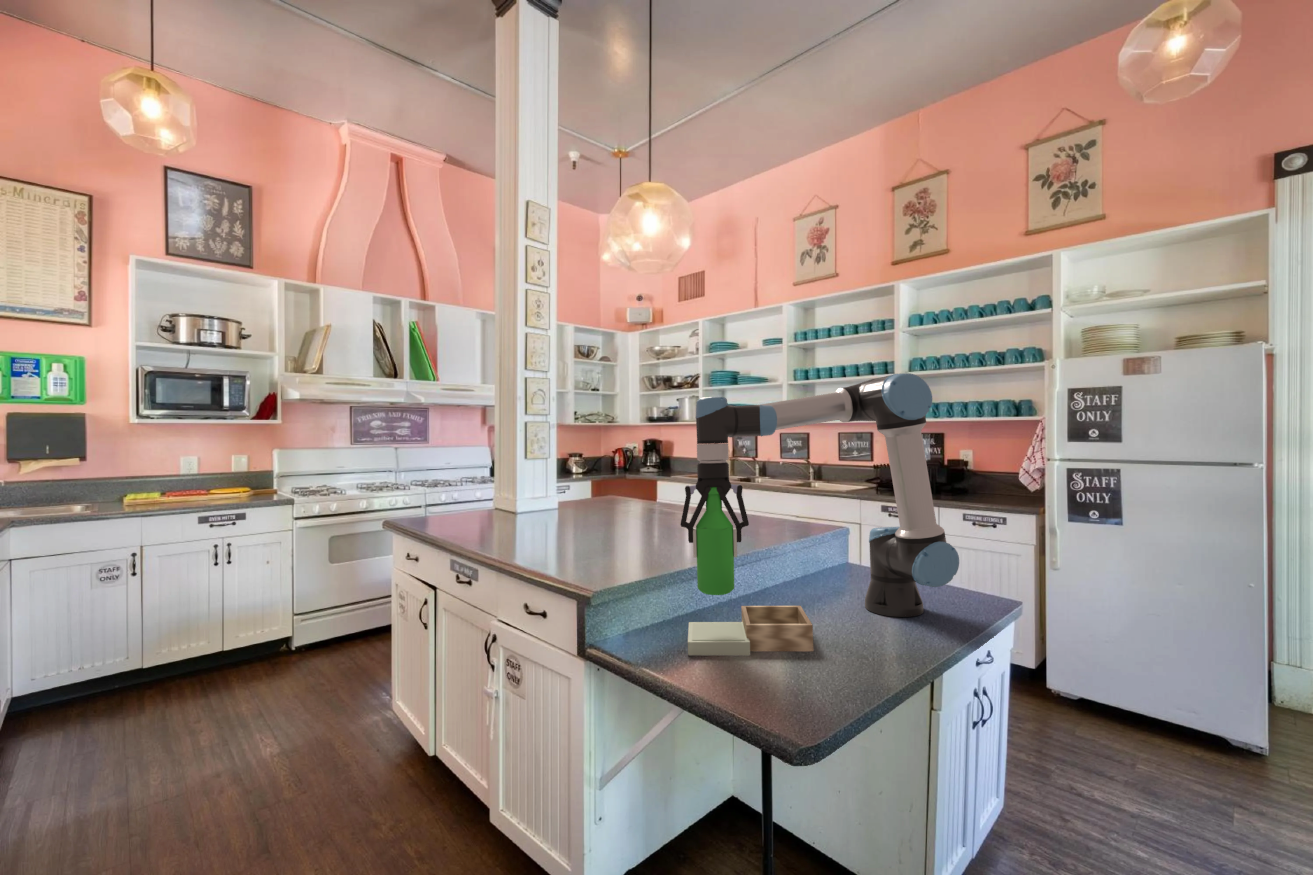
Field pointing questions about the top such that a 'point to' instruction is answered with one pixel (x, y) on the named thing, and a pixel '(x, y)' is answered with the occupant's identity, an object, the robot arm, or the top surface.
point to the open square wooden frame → (777, 628)
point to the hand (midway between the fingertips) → (715, 556)
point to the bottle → (715, 549)
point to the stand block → (717, 639)
